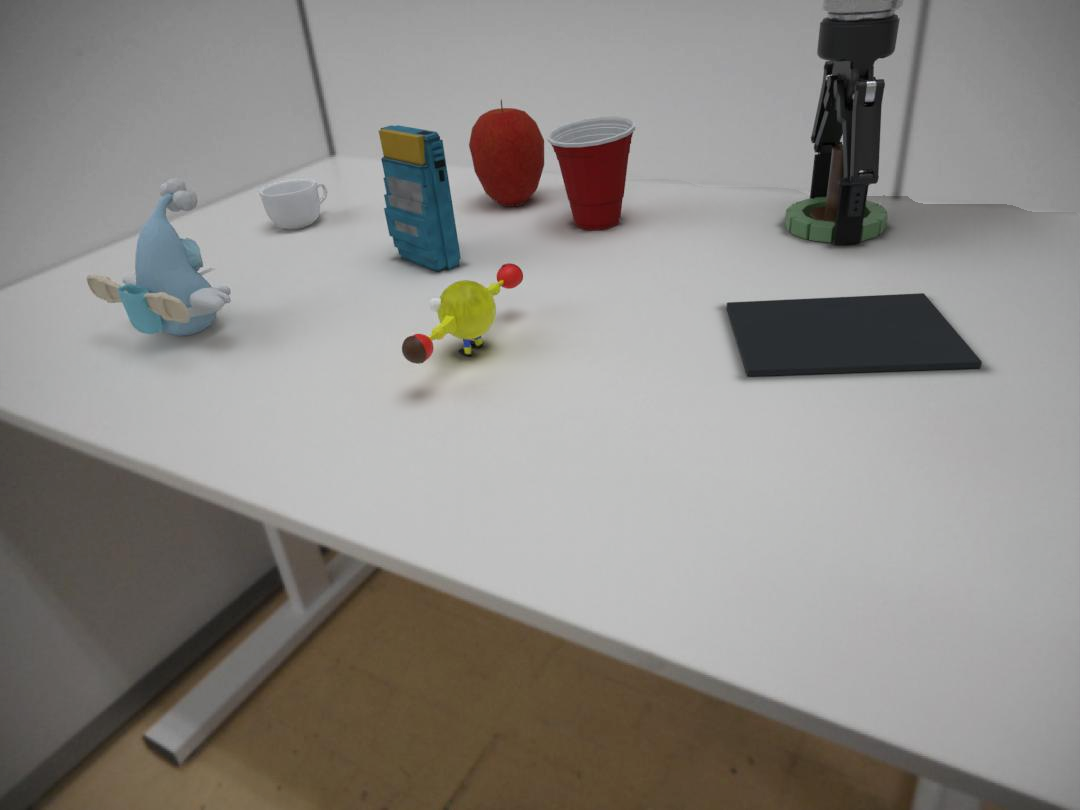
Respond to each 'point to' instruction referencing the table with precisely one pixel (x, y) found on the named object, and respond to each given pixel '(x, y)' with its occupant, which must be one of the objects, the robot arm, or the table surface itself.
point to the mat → (846, 336)
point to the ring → (823, 230)
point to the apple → (507, 155)
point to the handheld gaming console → (419, 197)
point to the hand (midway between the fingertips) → (832, 224)
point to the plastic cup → (594, 167)
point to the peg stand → (832, 187)
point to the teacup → (292, 202)
